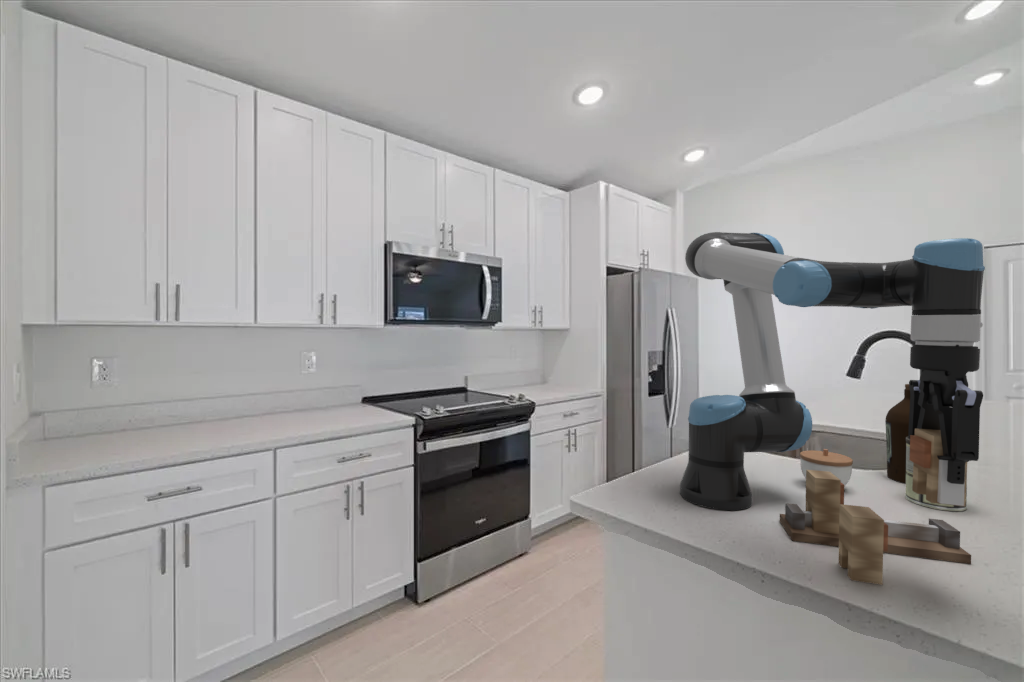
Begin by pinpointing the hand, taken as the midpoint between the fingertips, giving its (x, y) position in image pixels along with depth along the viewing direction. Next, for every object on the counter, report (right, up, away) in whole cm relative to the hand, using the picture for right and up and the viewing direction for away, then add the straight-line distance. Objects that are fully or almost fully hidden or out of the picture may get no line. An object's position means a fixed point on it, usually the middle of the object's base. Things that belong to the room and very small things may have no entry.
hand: (938, 496), depth 68 cm
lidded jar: (+13, -13, +43) cm, 47 cm away
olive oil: (+39, -13, +48) cm, 63 cm away
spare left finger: (-10, -13, +3) cm, 17 cm away
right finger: (0, 0, 0) cm, 0 cm away
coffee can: (+31, -13, +33) cm, 47 cm away
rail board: (+1, -13, +15) cm, 20 cm away
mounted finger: (-6, -12, +17) cm, 21 cm away
